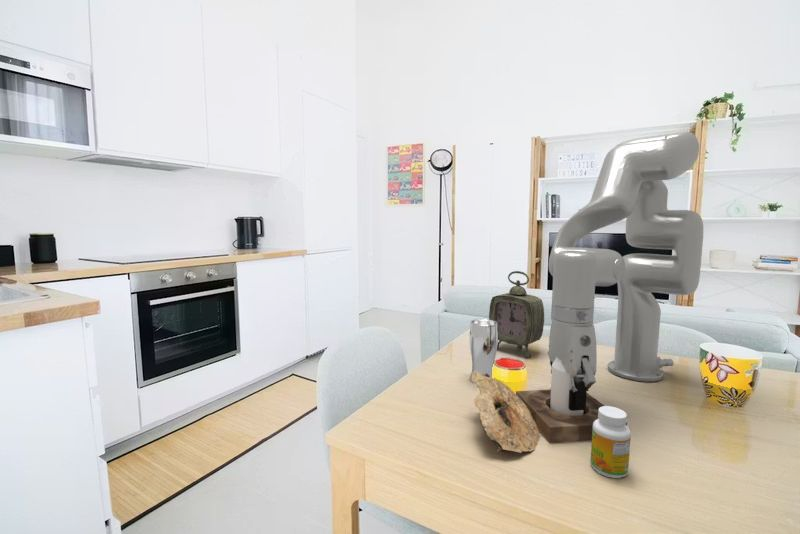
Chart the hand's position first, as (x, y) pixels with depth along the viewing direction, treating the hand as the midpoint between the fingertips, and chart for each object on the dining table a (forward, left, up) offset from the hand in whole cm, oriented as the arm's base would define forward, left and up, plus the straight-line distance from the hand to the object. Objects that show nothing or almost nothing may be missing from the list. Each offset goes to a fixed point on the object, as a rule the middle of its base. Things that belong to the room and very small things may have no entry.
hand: (567, 400), depth 77 cm
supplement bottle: (+2, +16, -4) cm, 16 cm away
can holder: (0, 0, -4) cm, 4 cm away
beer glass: (+11, -21, -4) cm, 24 cm away
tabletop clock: (-7, -41, -4) cm, 42 cm away
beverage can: (0, 0, -3) cm, 3 cm away
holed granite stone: (+14, +3, -4) cm, 15 cm away
